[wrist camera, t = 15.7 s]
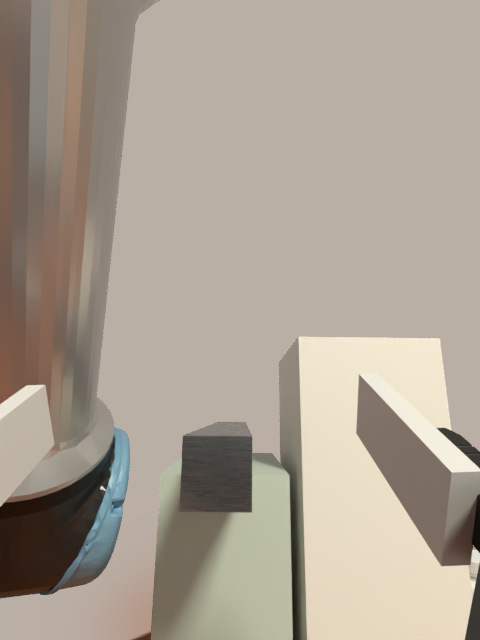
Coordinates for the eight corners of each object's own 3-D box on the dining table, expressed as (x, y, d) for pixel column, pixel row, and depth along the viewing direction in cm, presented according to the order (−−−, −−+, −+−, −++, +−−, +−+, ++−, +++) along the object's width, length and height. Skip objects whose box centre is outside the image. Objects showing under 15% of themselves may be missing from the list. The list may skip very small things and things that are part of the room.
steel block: (251, 512, 18) (252, 436, 18) (179, 511, 18) (182, 435, 18) (245, 450, 47) (245, 422, 47) (217, 450, 47) (218, 421, 47)
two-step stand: (497, 794, 23) (439, 338, 31) (141, 788, 24) (169, 335, 31) (395, 642, 39) (373, 363, 46) (180, 639, 39) (193, 361, 47)
